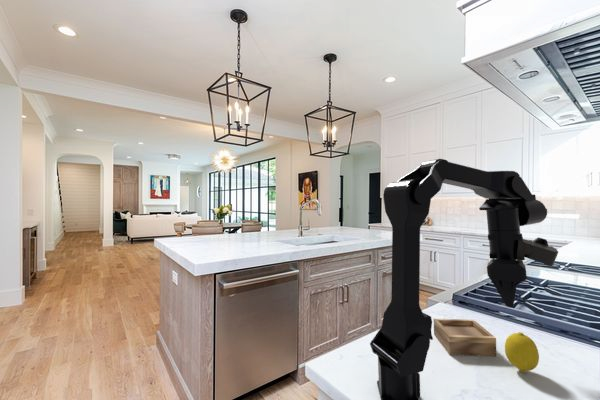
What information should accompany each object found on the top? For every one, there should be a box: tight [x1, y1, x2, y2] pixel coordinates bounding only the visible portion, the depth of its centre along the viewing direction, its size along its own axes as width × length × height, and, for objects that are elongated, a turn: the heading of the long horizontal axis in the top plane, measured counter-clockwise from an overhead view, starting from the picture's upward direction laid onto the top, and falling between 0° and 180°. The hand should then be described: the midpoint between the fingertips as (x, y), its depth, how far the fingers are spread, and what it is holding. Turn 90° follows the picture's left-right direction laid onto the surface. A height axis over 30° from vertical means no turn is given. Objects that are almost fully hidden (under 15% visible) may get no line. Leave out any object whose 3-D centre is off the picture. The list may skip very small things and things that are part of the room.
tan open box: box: [433, 318, 498, 358], centre depth 69 cm, size 10×10×4 cm
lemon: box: [504, 331, 540, 373], centre depth 58 cm, size 6×6×8 cm
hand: (509, 299), depth 62 cm, fingers open, 9 cm apart
